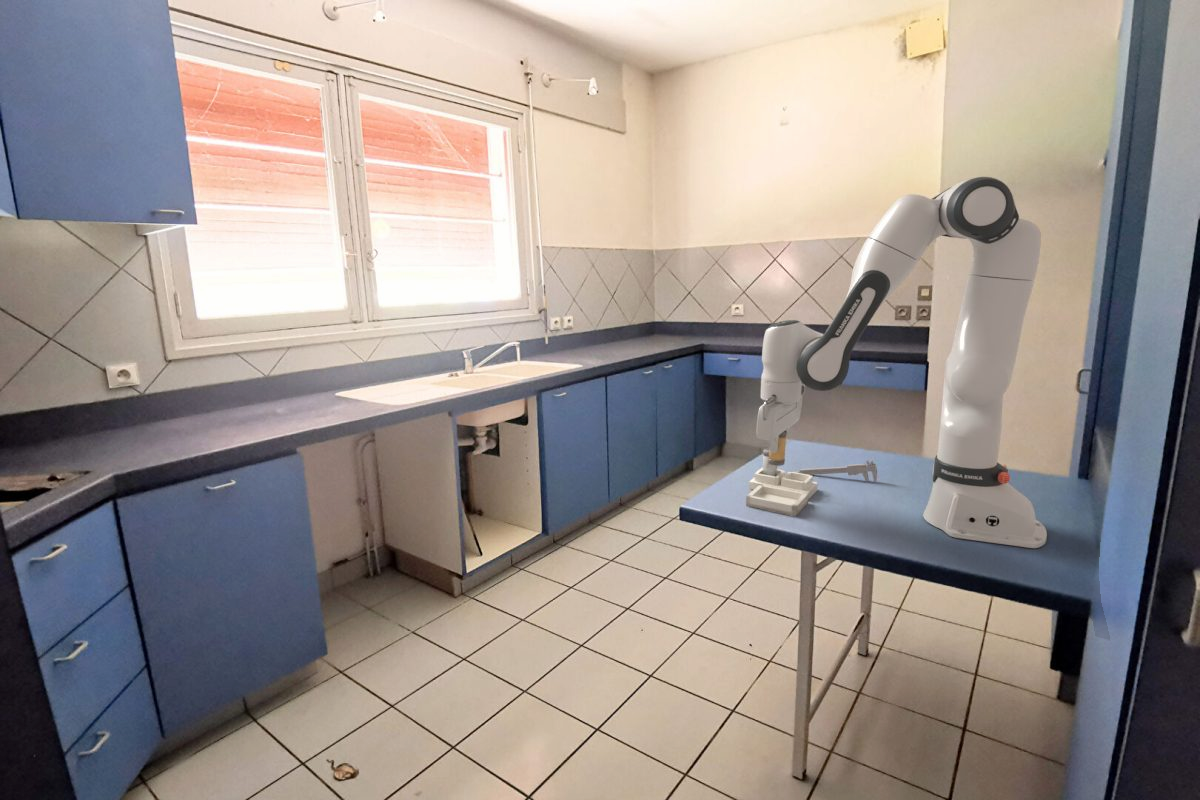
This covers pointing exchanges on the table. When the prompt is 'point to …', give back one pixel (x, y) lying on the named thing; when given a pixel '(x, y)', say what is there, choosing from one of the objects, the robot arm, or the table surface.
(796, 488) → the block
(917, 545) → the table surface
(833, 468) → the caliper
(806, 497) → the parts tray
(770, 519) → the table surface
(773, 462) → the fuse
